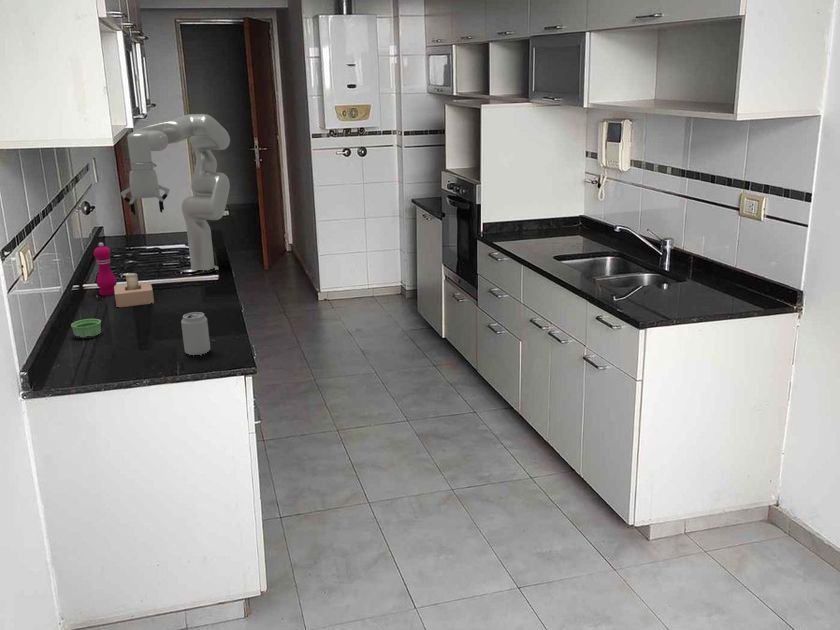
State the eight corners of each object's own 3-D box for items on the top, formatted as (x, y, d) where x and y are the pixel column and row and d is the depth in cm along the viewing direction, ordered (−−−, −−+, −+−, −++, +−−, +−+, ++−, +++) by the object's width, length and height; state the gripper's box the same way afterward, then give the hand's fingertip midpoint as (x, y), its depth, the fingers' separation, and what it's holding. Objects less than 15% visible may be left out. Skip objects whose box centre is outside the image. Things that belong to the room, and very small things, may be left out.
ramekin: (108, 331, 263) (106, 319, 262) (92, 340, 255) (90, 327, 254) (83, 330, 265) (81, 318, 264) (67, 339, 257) (65, 326, 255)
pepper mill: (115, 289, 314) (108, 239, 308) (120, 293, 308) (112, 242, 302) (96, 293, 310) (88, 242, 304) (100, 297, 304) (92, 245, 298)
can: (190, 348, 245) (186, 310, 241) (214, 348, 244) (210, 310, 241) (181, 356, 238) (176, 318, 234) (205, 357, 237) (201, 318, 233)
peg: (129, 300, 299) (125, 274, 296) (140, 298, 300) (136, 272, 297) (129, 303, 295) (125, 276, 292) (141, 301, 296) (137, 275, 293)
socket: (115, 298, 301) (113, 285, 300) (152, 294, 306) (150, 281, 304) (116, 307, 289) (114, 294, 288) (154, 303, 294) (152, 290, 292)
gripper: (165, 164, 303) (170, 209, 308) (116, 167, 297) (123, 213, 302) (167, 166, 296) (172, 212, 301) (117, 169, 290) (123, 216, 295)
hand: (147, 213), depth 301 cm, fingers open, 9 cm apart
